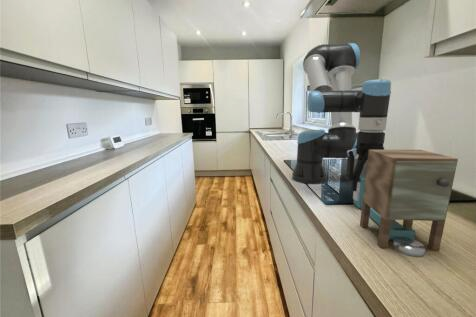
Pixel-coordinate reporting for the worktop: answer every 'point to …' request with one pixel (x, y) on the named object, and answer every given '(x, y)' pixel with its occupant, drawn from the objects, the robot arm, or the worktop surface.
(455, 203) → the worktop surface
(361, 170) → the robot arm
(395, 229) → the teal stepped block
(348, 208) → the worktop surface
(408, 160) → the cabinet
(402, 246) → the silver flat disc
